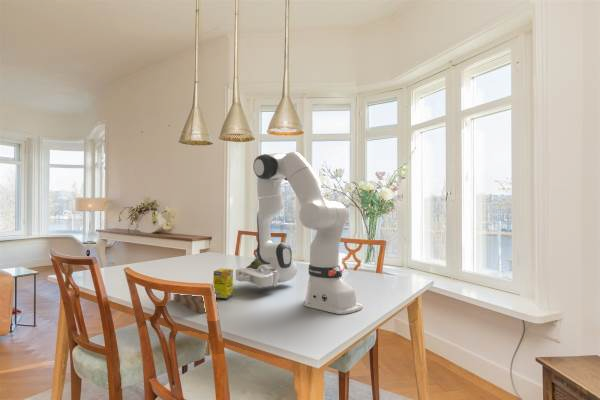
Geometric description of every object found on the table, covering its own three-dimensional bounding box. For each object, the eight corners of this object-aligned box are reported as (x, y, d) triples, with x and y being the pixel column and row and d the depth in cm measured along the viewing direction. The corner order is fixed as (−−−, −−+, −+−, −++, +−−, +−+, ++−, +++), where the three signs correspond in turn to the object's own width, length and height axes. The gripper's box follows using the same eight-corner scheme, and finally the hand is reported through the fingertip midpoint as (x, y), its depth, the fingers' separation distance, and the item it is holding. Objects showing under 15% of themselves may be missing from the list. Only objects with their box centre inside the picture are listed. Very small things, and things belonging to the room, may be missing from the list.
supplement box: (227, 300, 133) (227, 271, 133) (212, 299, 134) (213, 270, 134) (233, 296, 139) (233, 269, 139) (219, 295, 140) (219, 268, 140)
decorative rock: (251, 275, 185) (251, 257, 187) (280, 275, 182) (279, 256, 183) (241, 278, 171) (241, 258, 172) (272, 278, 168) (271, 257, 169)
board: (208, 312, 118) (208, 294, 118) (200, 313, 116) (200, 296, 116) (181, 298, 134) (181, 282, 134) (173, 299, 132) (174, 283, 132)
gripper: (251, 263, 158) (225, 266, 149) (280, 271, 143) (252, 275, 134) (251, 277, 158) (224, 281, 149) (279, 286, 143) (251, 291, 134)
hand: (237, 278), depth 141 cm, fingers closed
